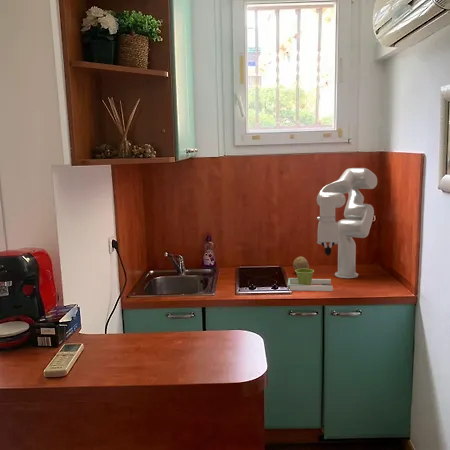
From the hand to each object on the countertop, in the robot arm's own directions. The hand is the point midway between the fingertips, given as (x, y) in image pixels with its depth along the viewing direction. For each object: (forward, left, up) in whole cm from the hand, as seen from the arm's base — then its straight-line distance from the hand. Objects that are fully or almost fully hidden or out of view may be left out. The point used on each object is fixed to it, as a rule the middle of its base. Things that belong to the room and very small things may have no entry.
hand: (327, 254), depth 235 cm
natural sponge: (-27, -13, -17) cm, 34 cm away
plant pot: (+1, -12, -17) cm, 21 cm away
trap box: (+1, -9, -17) cm, 19 cm away
